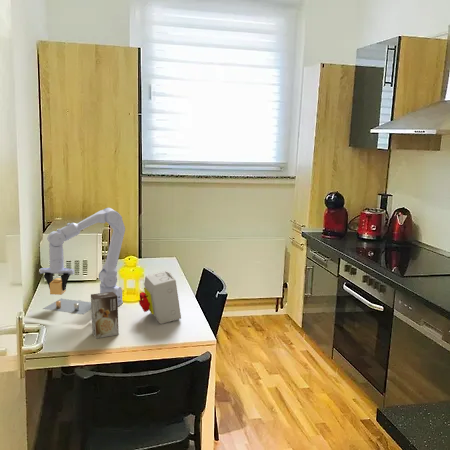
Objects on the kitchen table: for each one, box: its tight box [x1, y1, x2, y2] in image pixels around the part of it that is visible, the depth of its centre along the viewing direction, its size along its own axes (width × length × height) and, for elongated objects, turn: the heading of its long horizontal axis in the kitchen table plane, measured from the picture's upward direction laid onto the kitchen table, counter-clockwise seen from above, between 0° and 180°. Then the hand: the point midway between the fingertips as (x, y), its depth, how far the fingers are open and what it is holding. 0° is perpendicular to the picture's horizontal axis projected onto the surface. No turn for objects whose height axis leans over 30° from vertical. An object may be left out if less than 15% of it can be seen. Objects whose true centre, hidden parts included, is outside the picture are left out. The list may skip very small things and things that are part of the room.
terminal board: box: [42, 298, 91, 315], centre depth 219 cm, size 20×14×2 cm
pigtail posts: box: [55, 300, 79, 311], centre depth 215 cm, size 11×2×3 cm, turn 74°
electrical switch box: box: [138, 270, 182, 325], centre depth 210 cm, size 15×15×20 cm
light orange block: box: [49, 277, 67, 296], centre depth 214 cm, size 5×5×6 cm
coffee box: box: [90, 292, 120, 339], centre depth 193 cm, size 9×6×16 cm
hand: (57, 289), depth 215 cm, fingers closed on light orange block, 5 cm apart
